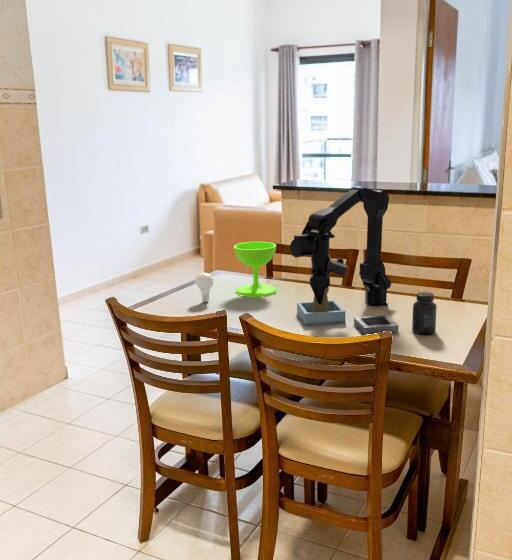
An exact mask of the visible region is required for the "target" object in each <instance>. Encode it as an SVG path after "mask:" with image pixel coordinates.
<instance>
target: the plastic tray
mask: <svg viewBox="0 0 512 560" xmlns="http://www.w3.org/2000/svg"><path fill="white" fill-rule="evenodd" d="M328 305H329V311H327V312H312V308H313V301H303V302H302V301H301V302H296V314H297V316H298V317H299V319H300V321H301V322H302V323H303V324H304V326H305V327H309V326H311V327H312V326H325V325H336V324H337V325H338V324H340V325H341V324H346V310H345V308H343V307H342V306H341V305H340V303H338V302H337V301H336V300H335V299H331V300H330V299H328Z"/></svg>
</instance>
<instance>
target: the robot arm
mask: <svg viewBox="0 0 512 560" xmlns="http://www.w3.org/2000/svg"><path fill="white" fill-rule="evenodd" d="M359 202H362V205H363V209H364V212H365V213H366V216H367V230H366V254H365V255H366V257H365V260H364V261H363V263H362V262H360V263H359V273H358V275H359V276H360V279H361V281H362V285H363V286H364V287H365V286H366V290H365V292H364V294H365V295H364V297H365V298H364V303H366V304H367V305H368V306H369V307H381V306H383V305H384V306H389V303H388V302H387V297H388V296H387V293H388V292H387V291H388V290H389V289H391V286H392V281H391V279H389V277H388V276H387V275H386V274H387V273H386V267H385V264H384V262H383V259H382V242H383V219H384V218H383V217H384V216H385V214H386V212H387V211H388V209H389V204H390V203H389V202H390V196H389V194H388V193H387V192H386V191H385V190H378V189H377V190H376V189H370V188H367V187H365V186H358V185H356V186H355V185H354V186H352V187H350V189H349V190H348V191H347V192H345V193H344V195H342V196H341V197H339V198H338V199H337V200H335V201H334V202H333V203H331V204H330V205H329V206H328V207H325V208H323V209H319V210H317V211H315V212H313V213H311V214H310V215H309V217H308V219H307V222H306V224H305V226H304V228H303V229H302V232H301V234H300V235H299V234H295V235H294V236H293V239H292V241H290V245H289V251H290V253H291V255H292V257H294V258H302V257H306V256H311V257H310V261H311V270H310V271H311V272H310V273H311V275H310V276H309V286H310V288H311V290H312V292H313V296H314V295H315V297H316V299H317V302H318V304H322V301H323V296H324V291H325V289H326V288H327V287H329V288H330V285H331V273H332V274H333V273H334V274H336V275H339V276H340V277H345V275H346V272H347V269H348V265H347V264H346V263H344V259H343V258H341V257H339V258H337V259H336V260H335V259H334V260H333V259H331V255H330V239H333V238H334V239H335V237H336V236H335V234H334V233H332V232H331V231H332V229H334V227H335V226H336V225H337V223H338V220H339V219H340V218H341V217H342V216H343V215H344V214H345V213H347V212H349V210H351V209H352V208H354V206H356V205H357V204H358V203H359Z"/></svg>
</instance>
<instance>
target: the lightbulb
mask: <svg viewBox="0 0 512 560" xmlns="http://www.w3.org/2000/svg"><path fill="white" fill-rule="evenodd" d="M195 284H196V287H197V288H198V289H199V292H200V294H201V301H202V302H203V303H209V301H210V293H211V292H210V291H211V289H212V287H213V285H214V278H213V276H212V275H211V274H210V273H209V272H201V273H199V274H198V275H197V276H196V278H195Z"/></svg>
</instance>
